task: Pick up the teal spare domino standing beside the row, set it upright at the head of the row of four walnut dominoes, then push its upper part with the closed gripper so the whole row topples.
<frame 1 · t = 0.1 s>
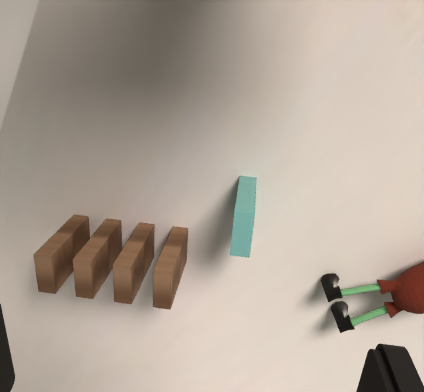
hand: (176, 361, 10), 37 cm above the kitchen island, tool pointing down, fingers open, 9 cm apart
domino 4: (114, 235, 52), on the kitchen island
domino 2: (179, 243, 51), on the kitchen island
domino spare: (245, 195, 48), on the kitchen island
domino 3: (146, 239, 52), on the kitchen island
domino 5: (82, 232, 52), on the kitchen island
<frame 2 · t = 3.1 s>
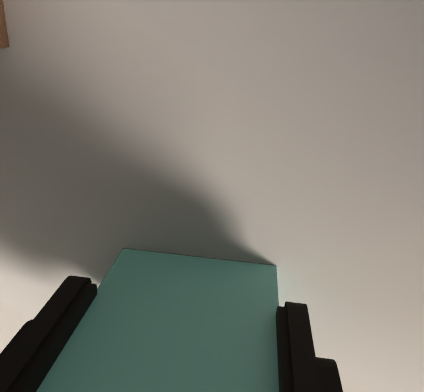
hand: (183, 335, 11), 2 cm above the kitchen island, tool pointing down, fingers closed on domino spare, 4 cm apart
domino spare: (197, 282, 13), on the kitchen island, touching gripper
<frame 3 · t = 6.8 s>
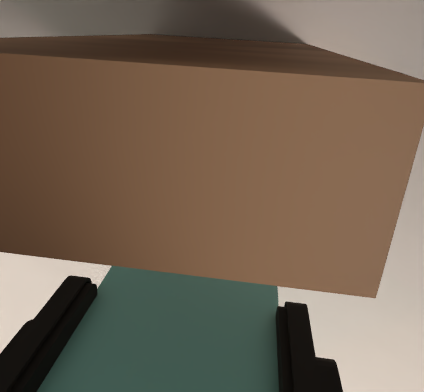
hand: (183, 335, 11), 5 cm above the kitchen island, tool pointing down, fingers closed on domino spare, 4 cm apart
domino 2: (225, 71, 13), on the kitchen island
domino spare: (196, 283, 13), point 3 cm above the kitchen island, touching gripper
when the fingers open (3 cm above the kitchen island, at t = 7.6 s): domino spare stays where it is, on the kitchen island.
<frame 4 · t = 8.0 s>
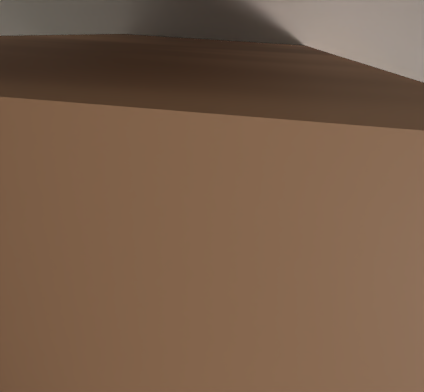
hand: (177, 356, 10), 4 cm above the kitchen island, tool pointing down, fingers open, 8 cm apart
domino 2: (210, 77, 11), on the kitchen island
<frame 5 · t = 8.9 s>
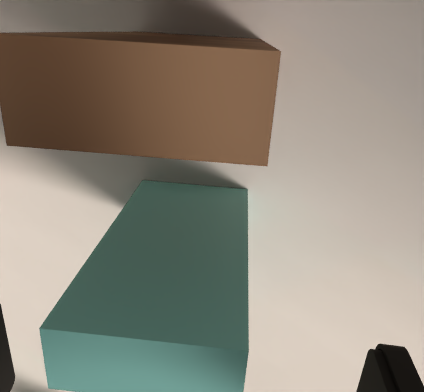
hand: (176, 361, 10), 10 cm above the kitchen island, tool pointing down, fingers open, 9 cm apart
domino 2: (198, 61, 16), on the kitchen island
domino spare: (193, 203, 19), on the kitchen island
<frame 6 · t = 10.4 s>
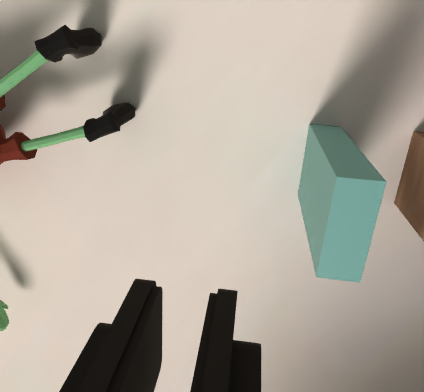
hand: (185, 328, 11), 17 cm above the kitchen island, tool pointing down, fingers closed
domino 2: (419, 170, 25), on the kitchen island
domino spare: (318, 162, 26), on the kitchen island
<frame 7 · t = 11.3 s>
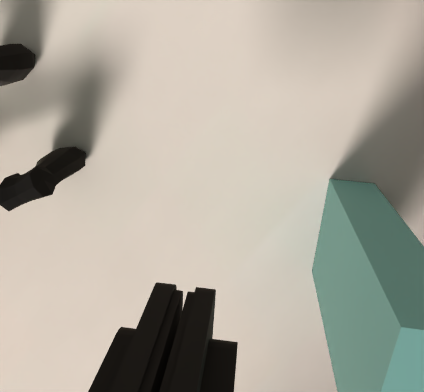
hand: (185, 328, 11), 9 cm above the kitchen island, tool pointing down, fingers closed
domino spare: (341, 229, 19), on the kitchen island
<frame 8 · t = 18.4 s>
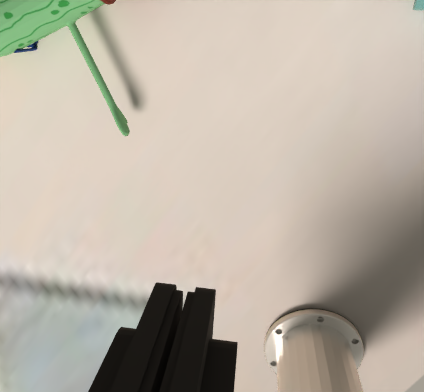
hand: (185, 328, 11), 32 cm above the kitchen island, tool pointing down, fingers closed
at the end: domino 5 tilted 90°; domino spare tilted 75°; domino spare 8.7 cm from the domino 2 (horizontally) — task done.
